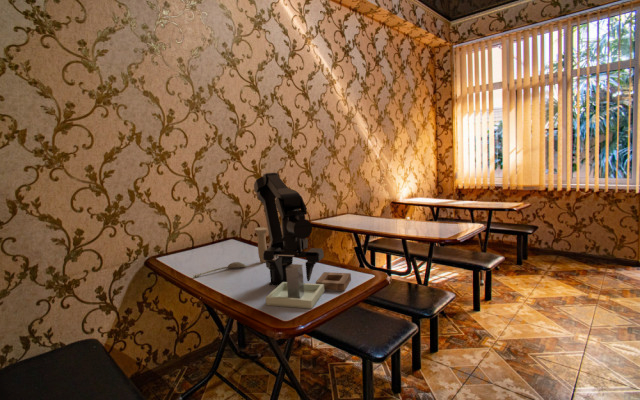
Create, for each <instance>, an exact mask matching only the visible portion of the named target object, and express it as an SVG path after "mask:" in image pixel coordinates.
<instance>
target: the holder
mask: <svg viewBox="0 0 640 400" xmlns="http://www.w3.org/2000/svg"><path fill="white" fill-rule="evenodd" d="M351 281H352V274H351V273H350V272H349V273H348V272H330V271H325V272H323V273H321V275H320V276H319V278H317V280H316V281H315V284H324V291H338V292H339V291H340V292H345V291H346V289H347V288H348V286H349V284H350V283H351Z"/></svg>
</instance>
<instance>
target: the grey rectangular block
mask: <svg viewBox="0 0 640 400" xmlns="http://www.w3.org/2000/svg"><path fill="white" fill-rule="evenodd" d="M303 271H304V270H303V264H300V263H299V264H297V263H296V264H295V263H294V264H293V263H292V264H290V265H289V266H288V267H287V268H286V276H287V289H288V298H300V299H301V298H302V296H303V295H304V272H303Z"/></svg>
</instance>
